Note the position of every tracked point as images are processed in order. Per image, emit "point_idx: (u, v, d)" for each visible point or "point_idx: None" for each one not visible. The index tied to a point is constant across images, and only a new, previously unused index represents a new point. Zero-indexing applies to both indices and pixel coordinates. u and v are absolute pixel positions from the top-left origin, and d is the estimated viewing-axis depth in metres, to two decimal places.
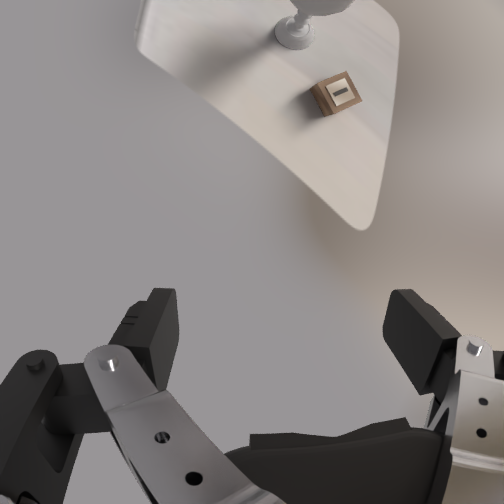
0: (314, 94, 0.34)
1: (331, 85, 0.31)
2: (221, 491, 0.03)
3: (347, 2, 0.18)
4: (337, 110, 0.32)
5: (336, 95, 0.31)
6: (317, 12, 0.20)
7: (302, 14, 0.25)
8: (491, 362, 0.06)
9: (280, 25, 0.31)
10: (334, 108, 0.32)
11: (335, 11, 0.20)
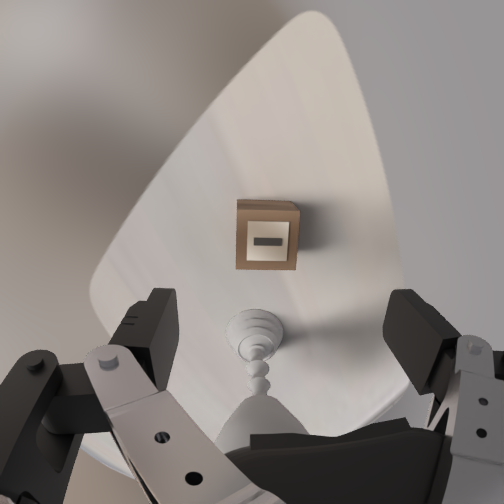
0: None
1: (275, 256, 0.21)
2: (221, 491, 0.03)
3: None
4: (290, 213, 0.20)
5: (278, 239, 0.20)
6: (299, 432, 0.14)
7: (267, 387, 0.20)
8: (491, 362, 0.06)
9: None
10: (293, 219, 0.20)
11: None
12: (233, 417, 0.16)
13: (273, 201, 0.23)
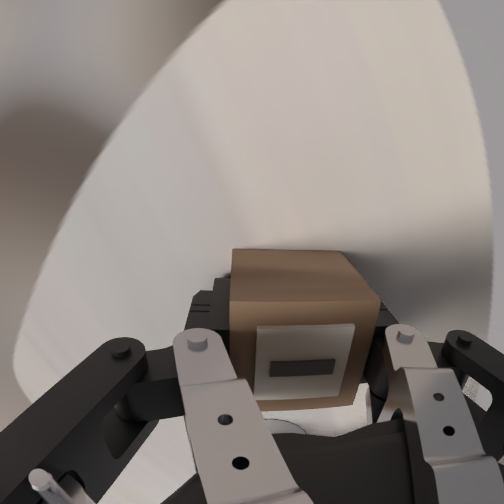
0: None
1: (314, 388, 0.09)
2: (261, 480, 0.03)
3: None
4: (360, 306, 0.08)
5: (325, 361, 0.08)
6: None
7: None
8: (419, 352, 0.07)
9: None
10: (365, 318, 0.08)
11: None
12: None
13: (308, 255, 0.11)
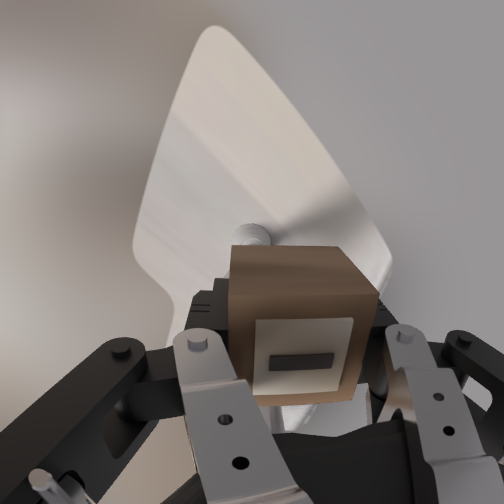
0: None
1: (314, 383, 0.09)
2: (261, 481, 0.03)
3: None
4: (358, 300, 0.08)
5: (324, 356, 0.08)
6: None
7: None
8: (419, 352, 0.07)
9: None
10: (363, 311, 0.08)
11: None
12: None
13: (306, 250, 0.11)
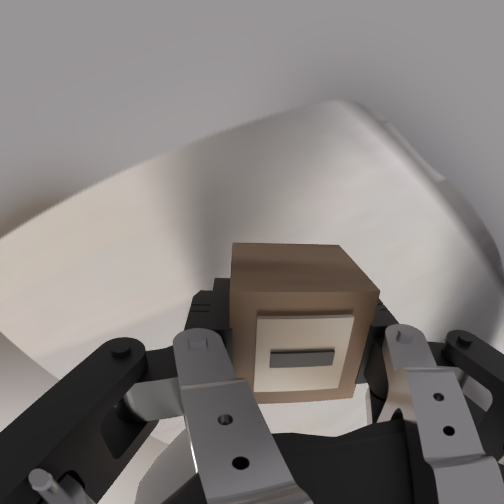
0: None
1: (314, 380, 0.09)
2: (261, 481, 0.03)
3: None
4: (359, 297, 0.08)
5: (325, 353, 0.08)
6: (144, 479, 0.10)
7: None
8: (419, 352, 0.07)
9: None
10: (364, 308, 0.08)
11: None
12: None
13: (307, 248, 0.11)
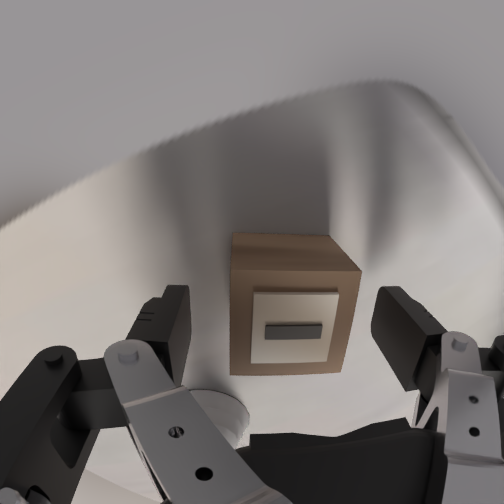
0: None
1: (305, 353, 0.10)
2: (230, 487, 0.03)
3: None
4: (343, 277, 0.09)
5: (314, 327, 0.10)
6: None
7: None
8: (475, 359, 0.06)
9: (228, 418, 0.15)
10: (348, 287, 0.09)
11: None
12: None
13: (299, 237, 0.12)
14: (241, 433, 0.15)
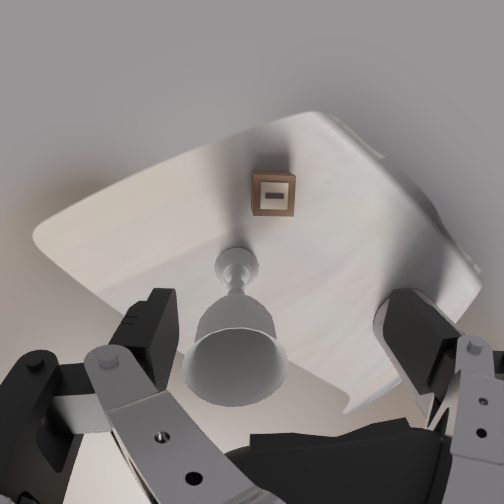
0: None
1: (279, 206, 0.30)
2: (221, 491, 0.03)
3: None
4: (289, 177, 0.30)
5: (281, 194, 0.30)
6: (204, 313, 0.24)
7: (234, 291, 0.30)
8: (491, 362, 0.06)
9: (248, 260, 0.35)
10: (291, 181, 0.30)
11: None
12: (214, 337, 0.26)
13: (277, 172, 0.33)
14: (254, 271, 0.36)
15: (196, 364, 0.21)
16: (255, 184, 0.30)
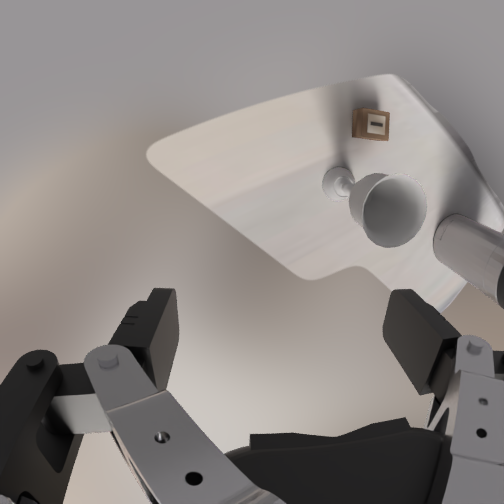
0: None
1: (379, 132, 0.37)
2: (221, 491, 0.03)
3: (357, 206, 0.29)
4: (385, 113, 0.37)
5: (381, 124, 0.37)
6: (356, 184, 0.31)
7: None
8: (491, 362, 0.06)
9: (351, 176, 0.42)
10: (387, 115, 0.37)
11: (352, 197, 0.30)
12: None
13: None
14: None
15: (361, 214, 0.28)
16: (364, 114, 0.37)
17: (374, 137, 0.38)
